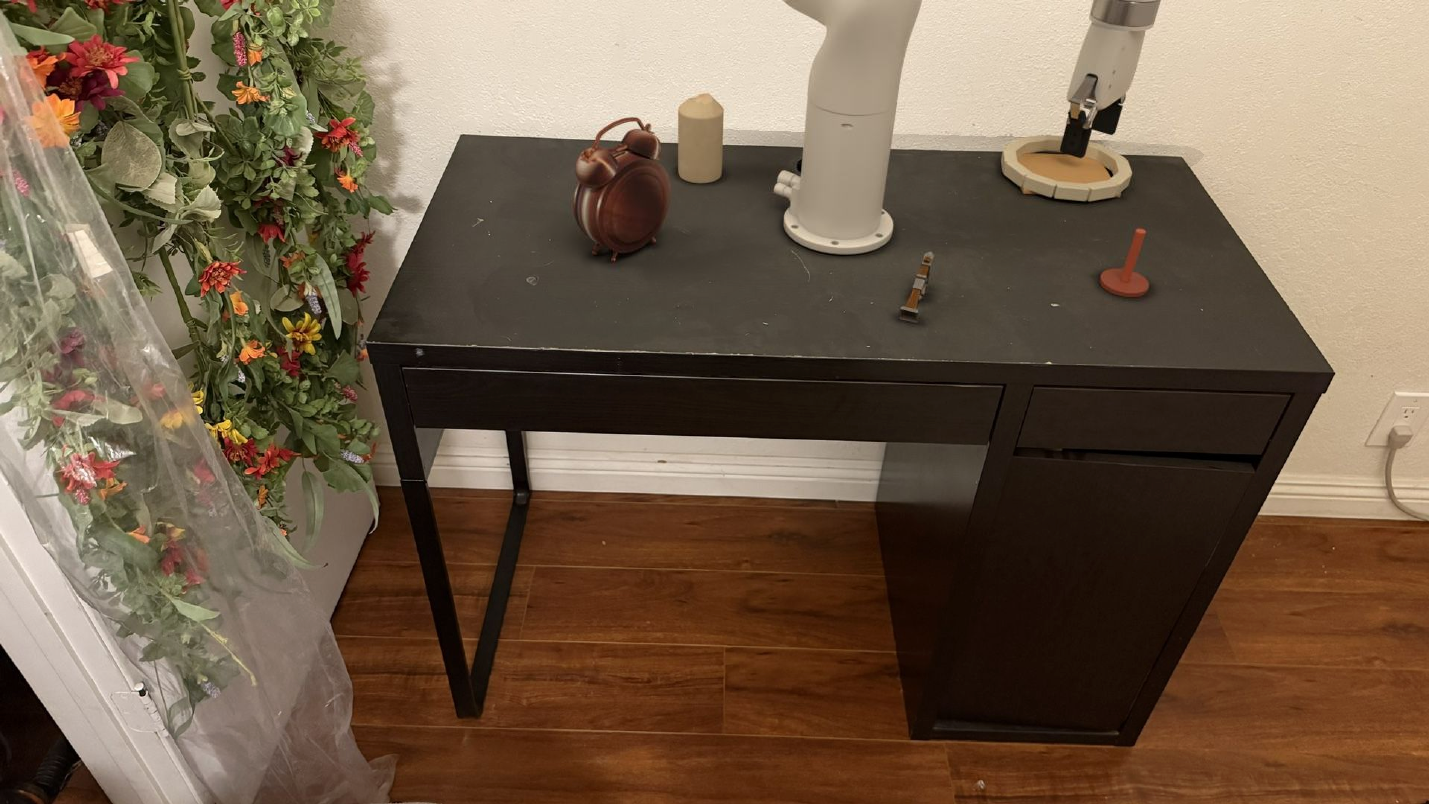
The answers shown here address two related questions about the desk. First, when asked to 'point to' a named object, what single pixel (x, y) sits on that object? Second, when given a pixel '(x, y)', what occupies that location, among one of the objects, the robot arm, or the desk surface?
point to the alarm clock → (622, 190)
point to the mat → (1064, 168)
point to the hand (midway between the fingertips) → (1087, 142)
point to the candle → (700, 139)
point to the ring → (1065, 189)
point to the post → (1127, 273)
